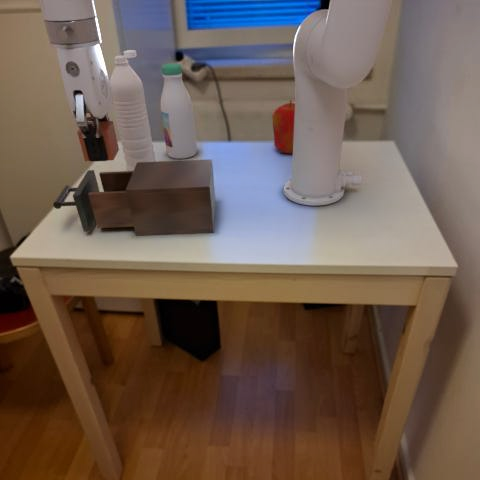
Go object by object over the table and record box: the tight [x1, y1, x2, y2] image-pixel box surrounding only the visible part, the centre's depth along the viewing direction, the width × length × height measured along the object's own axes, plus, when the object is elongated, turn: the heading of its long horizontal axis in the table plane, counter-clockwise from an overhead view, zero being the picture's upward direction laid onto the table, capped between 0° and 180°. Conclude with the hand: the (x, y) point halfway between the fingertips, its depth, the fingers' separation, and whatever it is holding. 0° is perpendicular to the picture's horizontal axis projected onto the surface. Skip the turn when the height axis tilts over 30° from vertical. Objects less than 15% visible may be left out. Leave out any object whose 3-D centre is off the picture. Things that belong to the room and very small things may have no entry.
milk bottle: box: [159, 62, 198, 160], centre depth 104 cm, size 8×8×20 cm
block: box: [76, 120, 120, 162], centre depth 76 cm, size 5×5×5 cm
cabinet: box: [126, 159, 216, 237], centre depth 83 cm, size 15×12×9 cm
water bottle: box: [109, 49, 157, 171], centre depth 92 cm, size 9×6×25 cm
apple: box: [271, 99, 295, 155], centre depth 106 cm, size 9×8×12 cm
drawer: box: [52, 169, 134, 233], centre depth 83 cm, size 18×11×7 cm, turn 91°
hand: (102, 153), depth 77 cm, fingers closed on block, 5 cm apart
